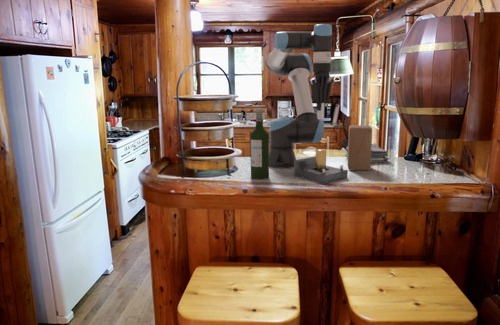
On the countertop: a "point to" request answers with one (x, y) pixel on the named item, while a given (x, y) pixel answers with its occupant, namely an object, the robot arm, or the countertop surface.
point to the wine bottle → (259, 149)
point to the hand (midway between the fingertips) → (320, 117)
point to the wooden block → (359, 147)
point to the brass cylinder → (320, 159)
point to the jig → (307, 171)
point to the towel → (375, 154)
